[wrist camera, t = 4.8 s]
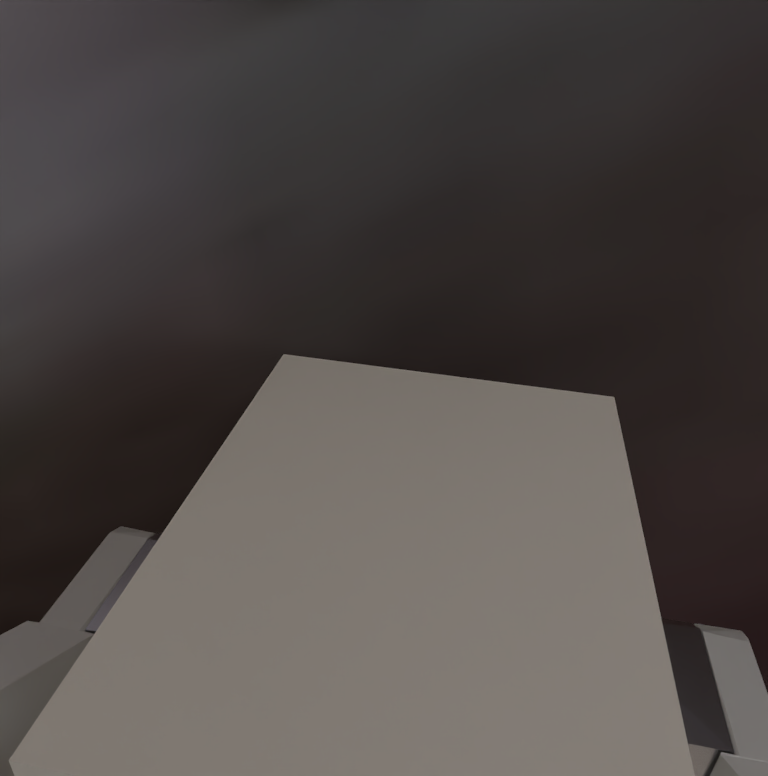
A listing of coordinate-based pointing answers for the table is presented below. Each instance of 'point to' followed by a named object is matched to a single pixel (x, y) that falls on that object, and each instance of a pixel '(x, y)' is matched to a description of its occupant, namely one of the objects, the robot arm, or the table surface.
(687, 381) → the table surface
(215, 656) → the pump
